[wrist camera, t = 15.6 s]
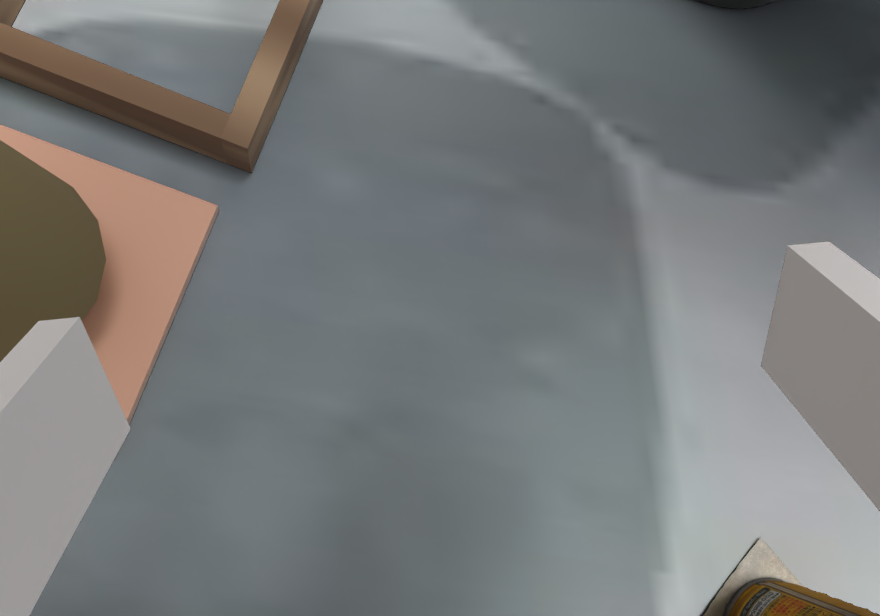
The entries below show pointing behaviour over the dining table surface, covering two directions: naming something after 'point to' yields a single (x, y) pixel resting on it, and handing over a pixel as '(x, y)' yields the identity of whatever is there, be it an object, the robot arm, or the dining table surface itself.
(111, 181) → the tile
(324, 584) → the dining table surface
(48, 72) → the bottle holder
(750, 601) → the condiment
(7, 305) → the squeeze bottle
